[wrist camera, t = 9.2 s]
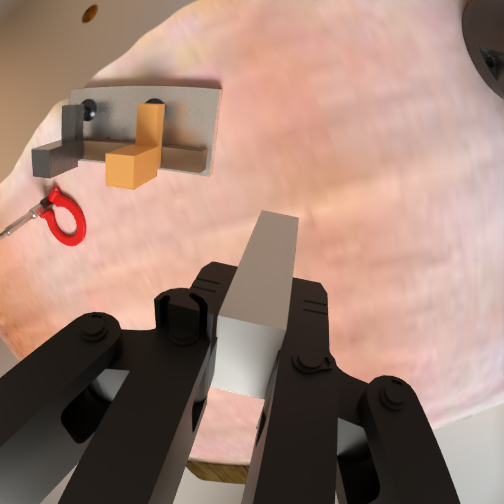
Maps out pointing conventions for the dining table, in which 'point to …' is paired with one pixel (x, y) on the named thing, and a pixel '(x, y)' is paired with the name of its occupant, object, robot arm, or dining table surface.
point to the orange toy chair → (138, 151)
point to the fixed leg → (62, 145)
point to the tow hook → (53, 218)
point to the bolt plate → (174, 125)
